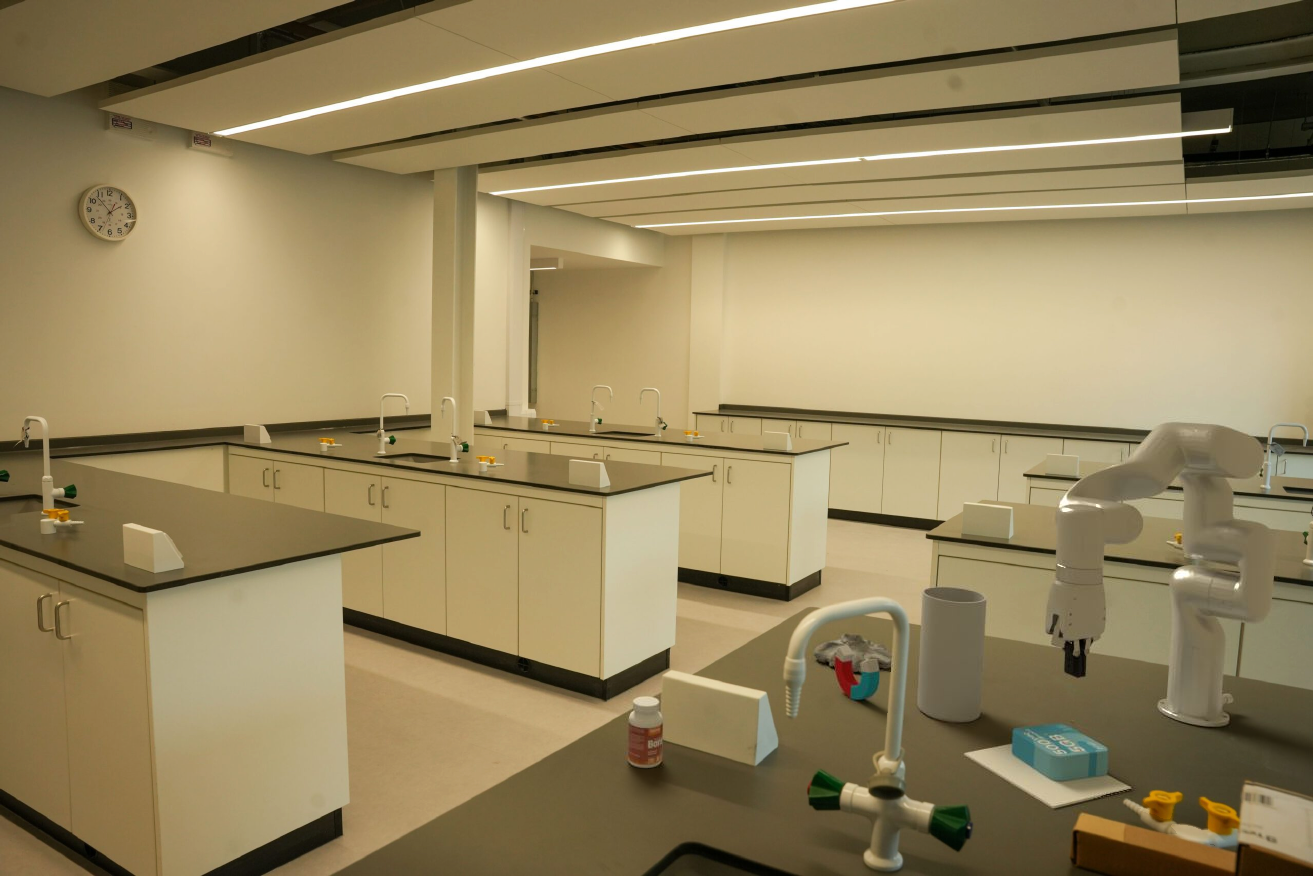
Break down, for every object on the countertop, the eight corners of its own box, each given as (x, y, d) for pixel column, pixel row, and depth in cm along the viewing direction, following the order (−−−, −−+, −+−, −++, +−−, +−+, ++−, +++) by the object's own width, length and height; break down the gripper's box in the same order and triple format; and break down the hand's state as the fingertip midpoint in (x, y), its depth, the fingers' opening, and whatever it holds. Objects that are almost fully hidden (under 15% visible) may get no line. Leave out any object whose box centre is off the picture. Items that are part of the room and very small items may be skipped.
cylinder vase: (916, 718, 168) (921, 598, 166) (917, 696, 180) (922, 584, 178) (982, 728, 164) (988, 605, 162) (978, 704, 176) (984, 590, 174)
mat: (1036, 740, 159) (1037, 738, 159) (1131, 789, 140) (1131, 787, 140) (964, 755, 152) (964, 753, 152) (1052, 808, 134) (1053, 806, 134)
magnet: (878, 706, 174) (880, 660, 173) (868, 708, 173) (870, 662, 172) (843, 687, 185) (844, 643, 184) (833, 689, 183) (834, 645, 183)
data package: (1113, 750, 144) (1056, 757, 141) (1111, 775, 145) (1054, 783, 141) (1062, 722, 156) (1008, 728, 153) (1061, 745, 156) (1007, 752, 153)
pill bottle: (651, 772, 143) (652, 711, 142) (621, 764, 146) (622, 703, 145) (668, 758, 148) (669, 699, 148) (639, 750, 152) (640, 692, 151)
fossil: (857, 632, 213) (887, 616, 201) (876, 673, 209) (908, 660, 197) (802, 651, 206) (829, 636, 194) (820, 695, 202) (849, 682, 190)
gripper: (1091, 565, 152) (1087, 661, 154) (1030, 574, 146) (1026, 673, 148) (1127, 575, 145) (1123, 675, 147) (1065, 584, 139) (1061, 689, 141)
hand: (1074, 674), depth 147 cm, fingers closed
